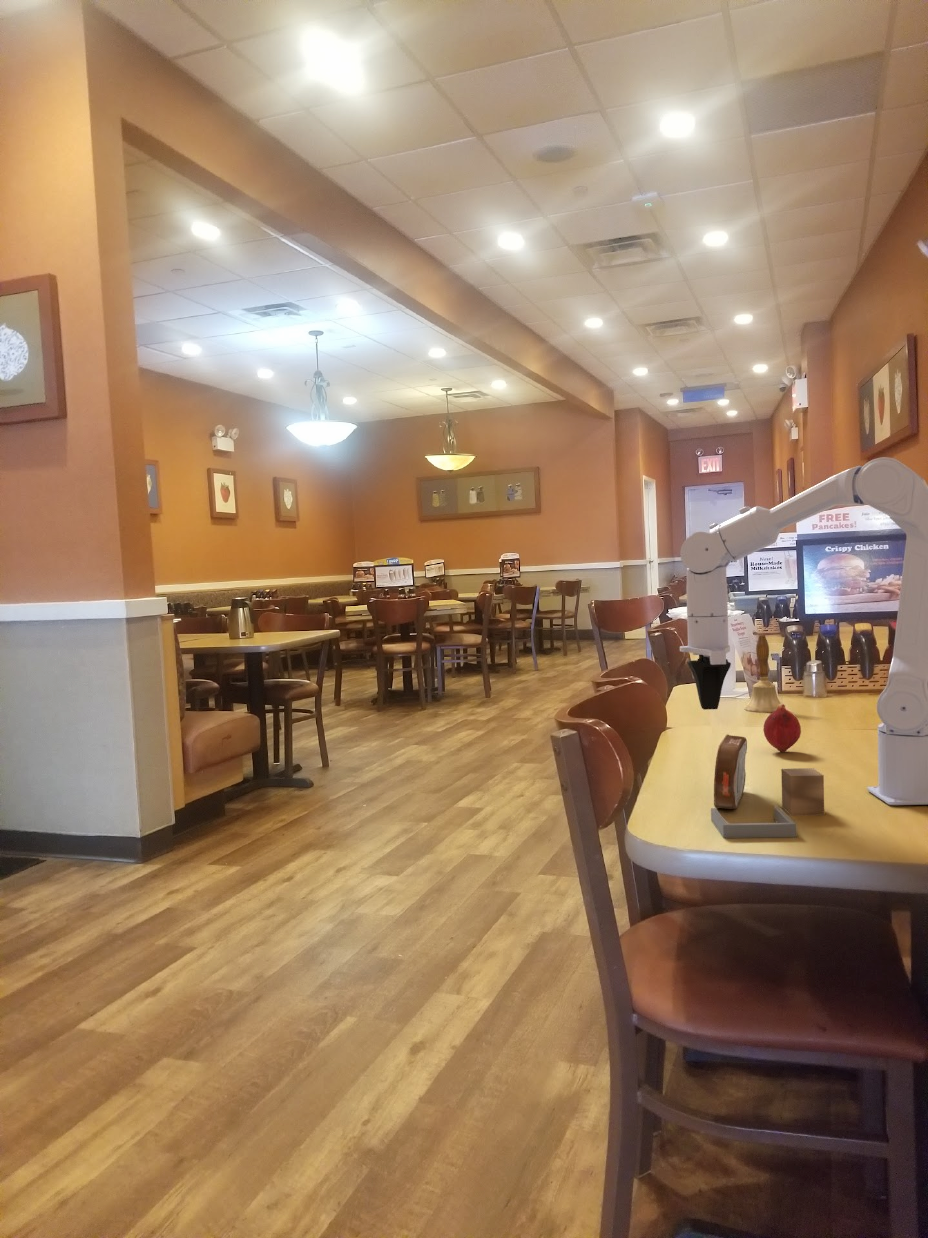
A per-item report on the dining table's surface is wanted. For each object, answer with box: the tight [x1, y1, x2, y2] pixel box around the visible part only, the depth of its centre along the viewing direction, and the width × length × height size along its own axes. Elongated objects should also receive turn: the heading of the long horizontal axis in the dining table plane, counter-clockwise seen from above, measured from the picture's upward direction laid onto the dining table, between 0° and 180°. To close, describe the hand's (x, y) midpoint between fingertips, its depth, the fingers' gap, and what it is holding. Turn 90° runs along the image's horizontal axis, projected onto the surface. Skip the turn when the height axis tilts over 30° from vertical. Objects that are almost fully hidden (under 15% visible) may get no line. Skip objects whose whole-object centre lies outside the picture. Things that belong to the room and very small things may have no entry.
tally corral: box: [710, 806, 797, 839], centre depth 105 cm, size 8×7×2 cm
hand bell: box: [744, 634, 782, 714], centre depth 188 cm, size 8×8×16 cm
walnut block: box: [780, 767, 825, 816], centre depth 112 cm, size 4×4×5 cm
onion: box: [763, 703, 802, 753], centre depth 146 cm, size 6×6×8 cm
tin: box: [713, 733, 748, 810], centre depth 117 cm, size 15×3×8 cm, turn 157°
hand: (709, 708), depth 129 cm, fingers closed
